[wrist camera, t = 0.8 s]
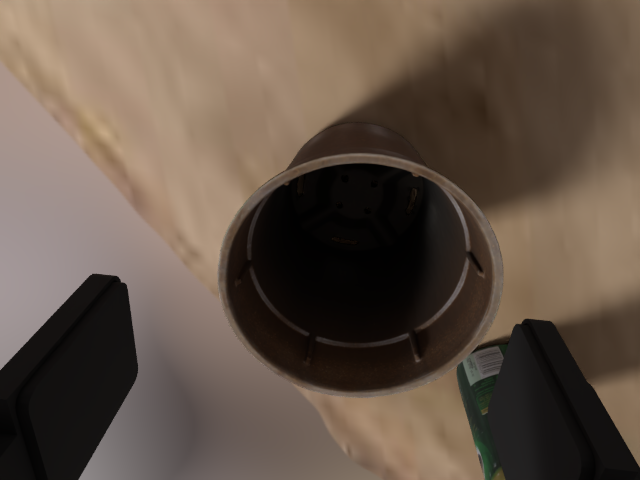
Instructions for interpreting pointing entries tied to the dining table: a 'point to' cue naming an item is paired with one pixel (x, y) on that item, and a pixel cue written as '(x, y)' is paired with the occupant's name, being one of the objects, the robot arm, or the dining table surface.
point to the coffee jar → (482, 402)
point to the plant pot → (360, 268)
